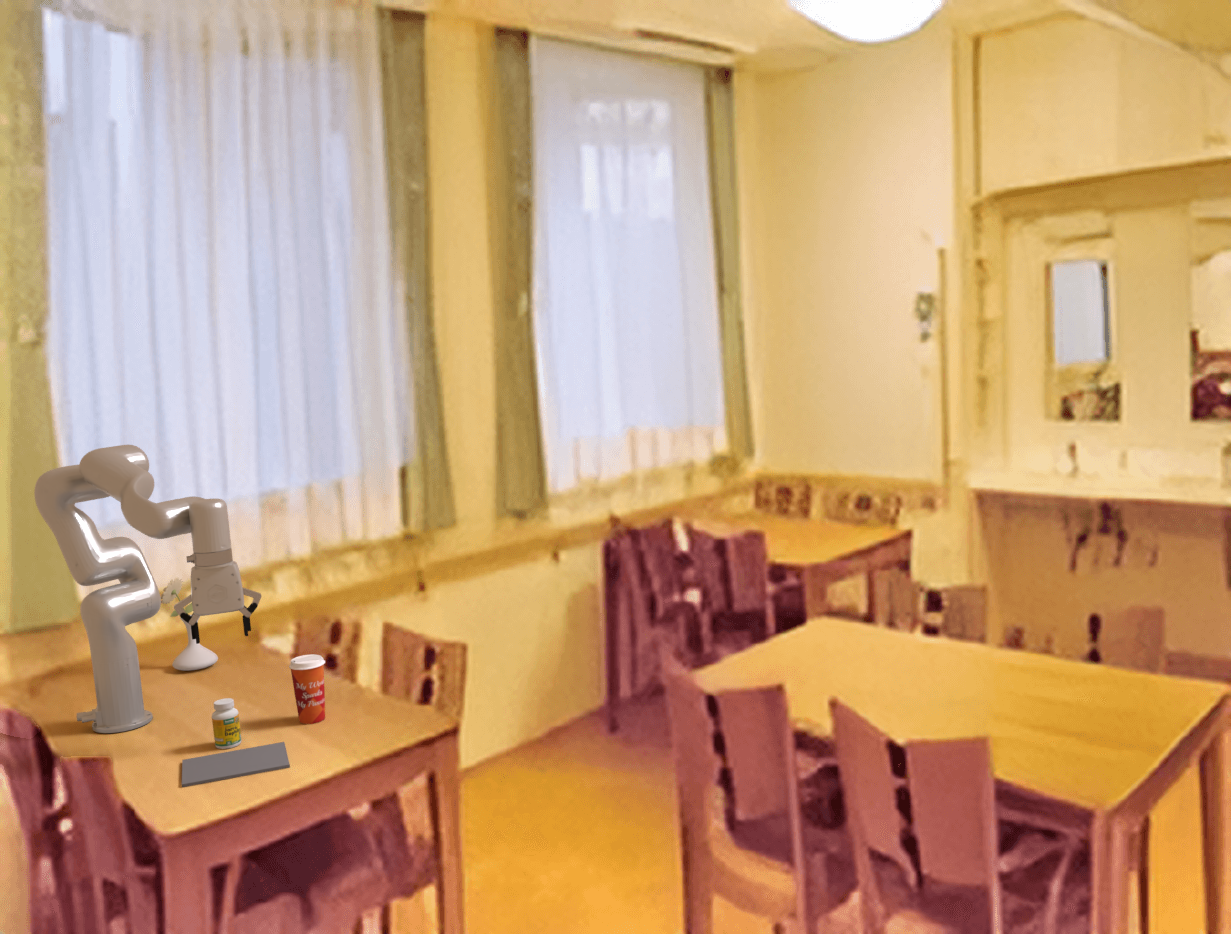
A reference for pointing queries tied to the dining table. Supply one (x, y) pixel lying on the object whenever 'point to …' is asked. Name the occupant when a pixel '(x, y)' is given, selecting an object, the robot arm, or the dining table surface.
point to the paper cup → (309, 687)
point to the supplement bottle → (226, 724)
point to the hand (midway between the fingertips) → (222, 638)
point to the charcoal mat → (234, 764)
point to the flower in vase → (193, 653)
